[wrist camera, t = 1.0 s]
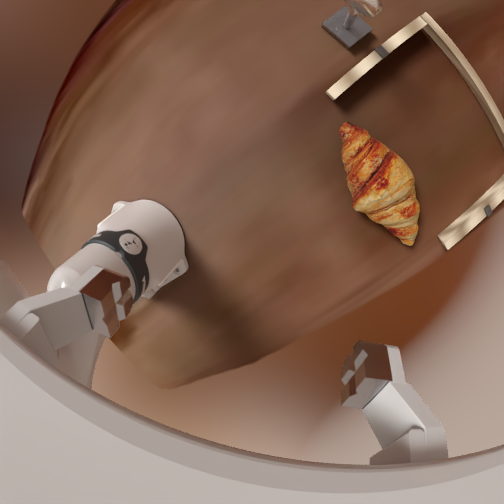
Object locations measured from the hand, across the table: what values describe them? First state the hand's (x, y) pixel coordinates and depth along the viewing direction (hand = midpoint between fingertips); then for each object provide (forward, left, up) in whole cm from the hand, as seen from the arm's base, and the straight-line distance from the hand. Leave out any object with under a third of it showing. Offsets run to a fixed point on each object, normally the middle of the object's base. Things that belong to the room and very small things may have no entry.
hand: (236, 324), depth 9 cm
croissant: (+7, -11, -34) cm, 36 cm away
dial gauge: (+20, +9, -33) cm, 40 cm away
